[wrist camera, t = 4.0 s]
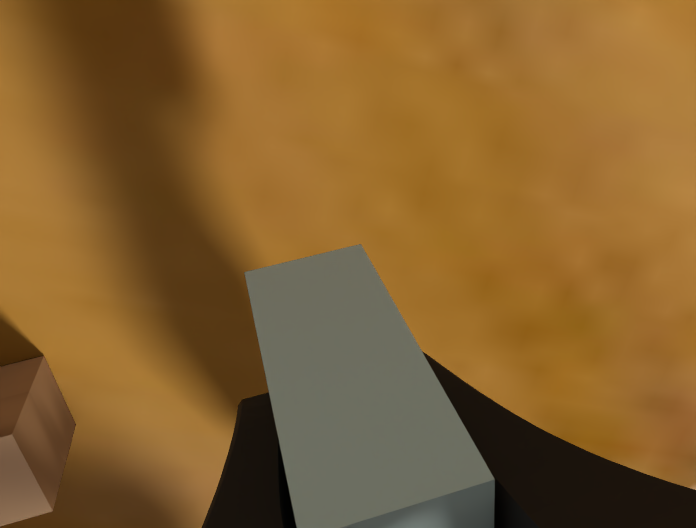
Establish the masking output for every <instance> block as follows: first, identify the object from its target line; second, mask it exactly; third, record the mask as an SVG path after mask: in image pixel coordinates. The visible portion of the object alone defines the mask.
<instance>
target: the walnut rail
mask: <svg viewBox="0 0 696 528" xmlns="http://www.w3.org/2000/svg"><path fill="white" fill-rule="evenodd" d="M75 426H76V424H75V422H74V420H73V417H72V415H71V413H70V411H69V409H68V407H67V405H66V402H65V400H64V398H63V396H62V394H61V392H60V389H59V387H58V385H57V383H56V381H55V379H54V377H53V374H52V372H51V370H50V368H49V366H48V364H47V361H46V359H45V357H44V356H41V357H37V358H33V359H29V360H25V361H21V362H17V363H13V364H9V365H5V366H1V367H0V526H4V525H7V524H11V523H14V522H17V521H21V520H24V519H28V518H31V517H35V516H38V515H42V514H45V513H48V512H52V511H53V509H54V505H55V501H56V497H57V493H58V490H59V486H60V482H61V478H62V475H63V471H64V467H65V463H66V460H67V456H68V452H69V448H70V445H71V441H72V437H73V433H74V430H75Z"/></svg>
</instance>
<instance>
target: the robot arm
mask: <svg viewBox="0 0 696 528" xmlns="http://www.w3.org/2000/svg"><path fill="white" fill-rule="evenodd" d="M422 353H423V354H424V356H425V358H426V360H427V361H428V363H429V365H430V367H431V368H432V370H433V372H434V374H435V375H436V377H437V379H438V381H439V382H440V384H441V386H442V388H443V389H444V391H445V393H446V395H447V396H448V398H449V400H450V402H451V403H452V405H453V407H454V409H455V410H456V412H457V414H458V416H459V417H460V419H461V421H462V423H463V425H464V426H465V428H466V430H467V432H468V433H469V435H470V437H471V439H472V440H473V442H474V444H475V446H476V447H477V449H478V451H479V453H480V454H481V456H482V458H483V460H484V461H485V463H486V465H487V467H488V468H489V470H490V472H491V474H492V475H493V477H494V479H495V498H494V528H696V490H694V489H690V488H687V487H684V486H680V485H677V484H674V483H671V482H668V481H665V480H662V479H659V478H656V477H653V476H650V475H647V474H644V473H641V472H639V471H636V470H633V469H631V468H628V467H625V466H623V465H620V464H618V463H615V462H612V461H610V460H607V459H605V458H602V457H600V456H597V455H595V454H593V453H590V452H588V451H586V450H584V449H581V448H579V447H577V446H575V445H573V444H571V443H569V442H566V441H564V440H562V439H560V438H558V437H556V436H554V435H552V434H550V433H548V432H546V431H544V430H542V429H540V428H538V427H536V426H535V425H533V424H531V423H529V422H528V421H526V420H524V419H522V418H520V417H519V416H517V415H515V414H514V413H512V412H510V411H509V410H507V409H505V408H504V407H502V406H501V405H499V404H497V403H496V402H494V401H493V400H491V399H490V398H488V397H487V396H485V395H484V394H482V393H480V392H479V391H477V390H476V389H474V388H473V387H471V386H470V385H469V384H467V383H466V382H464V381H463V380H461V379H460V378H459V377H457V376H456V375H454V374H453V373H452V372H450V371H449V370H447V369H446V368H445V367H443V366H442V365H441V364H439V363H438V362H436V361H435V360H434V359H432V358H431V357H430V356H428V355H427V354H425V353H424V352H422ZM202 528H297V527H296V522H295V517H294V512H293V507H292V502H291V497H290V492H289V487H288V483H287V478H286V473H285V468H284V463H283V458H282V453H281V449H280V444H279V439H278V434H277V429H276V424H275V419H274V414H273V410H272V405H271V400H270V395H269V393H265V394H261V395H258V396H254V397H250V398H247V399H243V400H242V401H241V402H240V404H239V405H238V411H237V418H236V423H235V428H234V433H233V437H232V441H231V445H230V448H229V452H228V455H227V459H226V462H225V465H224V468H223V472H222V475H221V478H220V481H219V484H218V487H217V490H216V492H215V495H214V497H213V500H212V503H211V505H210V508H209V510H208V513H207V516H206V518H205V521H204V523H203V526H202Z"/></svg>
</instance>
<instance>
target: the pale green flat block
mask: <svg viewBox="0 0 696 528" xmlns="http://www.w3.org/2000/svg"><path fill="white" fill-rule="evenodd" d="M244 273H245V278H246V283H247V288H248V293H249V297H250V302H251V307H252V312H253V317H254V322H255V327H256V332H257V336H258V341H259V346H260V351H261V356H262V361H263V366H264V371H265V375H266V380H267V385H268V390H269V395H270V400H271V405H272V410H273V414H274V419H275V424H276V429H277V434H278V439H279V444H280V449H281V453H282V458H283V463H284V468H285V473H286V478H287V483H288V487H289V492H290V497H291V502H292V507H293V512H294V517H295V522H296V527H297V528H494V498H495V479H494V477H493V475H492V474H491V472H490V470H489V468H488V467H487V465H486V463H485V461H484V460H483V458H482V456H481V454H480V453H479V451H478V449H477V447H476V446H475V444H474V442H473V440H472V439H471V437H470V435H469V433H468V432H467V430H466V428H465V426H464V425H463V423H462V421H461V419H460V417H459V416H458V414H457V412H456V410H455V409H454V407H453V405H452V403H451V402H450V400H449V398H448V396H447V395H446V393H445V391H444V389H443V388H442V386H441V384H440V382H439V381H438V379H437V377H436V375H435V374H434V372H433V370H432V368H431V367H430V365H429V363H428V361H427V360H426V358H425V356H424V354H423V353H422V351H421V349H420V347H419V345H418V344H417V342H416V340H415V338H414V337H413V335H412V333H411V331H410V330H409V328H408V326H407V324H406V323H405V321H404V319H403V317H402V316H401V314H400V312H399V310H398V309H397V307H396V305H395V303H394V302H393V300H392V298H391V296H390V295H389V293H388V291H387V289H386V288H385V286H384V284H383V282H382V280H381V279H380V277H379V275H378V273H377V272H376V270H375V268H374V266H373V265H372V263H371V261H370V259H369V258H368V256H367V254H366V252H365V251H364V249H363V247H362V245H361V244H359V245H355V246H351V247H347V248H343V249H339V250H334V251H330V252H326V253H322V254H318V255H314V256H310V257H305V258H301V259H297V260H293V261H289V262H285V263H281V264H276V265H272V266H268V267H264V268H260V269H256V270H252V271H247V272H244Z"/></svg>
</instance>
